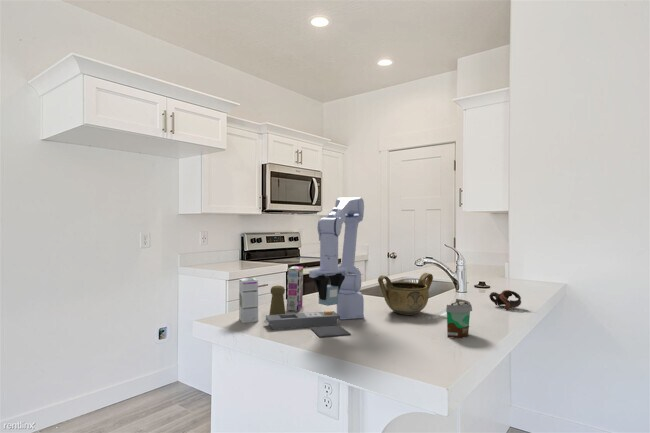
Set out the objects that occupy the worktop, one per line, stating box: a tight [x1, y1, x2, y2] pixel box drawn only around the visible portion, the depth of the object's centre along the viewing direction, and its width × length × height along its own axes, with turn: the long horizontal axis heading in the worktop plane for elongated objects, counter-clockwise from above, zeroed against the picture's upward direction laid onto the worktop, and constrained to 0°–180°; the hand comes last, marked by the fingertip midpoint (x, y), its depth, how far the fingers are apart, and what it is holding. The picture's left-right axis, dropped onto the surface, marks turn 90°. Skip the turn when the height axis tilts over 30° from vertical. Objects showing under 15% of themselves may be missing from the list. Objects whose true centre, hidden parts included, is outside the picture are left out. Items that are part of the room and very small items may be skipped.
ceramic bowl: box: [377, 272, 434, 316], centre depth 149 cm, size 22×17×15 cm
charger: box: [318, 284, 338, 307], centre depth 123 cm, size 4×4×6 cm
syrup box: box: [238, 277, 259, 324], centre depth 136 cm, size 6×6×14 cm
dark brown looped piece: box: [488, 289, 522, 311], centre depth 160 cm, size 12×10×8 cm
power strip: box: [265, 310, 341, 330], centre depth 132 cm, size 24×7×4 cm, turn 108°
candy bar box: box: [285, 265, 304, 313], centre depth 155 cm, size 11×5×16 cm, turn 175°
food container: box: [445, 298, 473, 339], centre depth 121 cm, size 12×6×10 cm, turn 148°
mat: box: [310, 325, 352, 339], centre depth 123 cm, size 10×10×1 cm
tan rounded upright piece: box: [268, 285, 286, 315], centre depth 143 cm, size 6×6×11 cm
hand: (328, 298), depth 123 cm, fingers closed on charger, 4 cm apart
